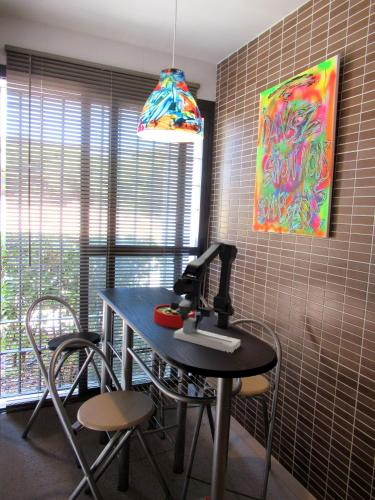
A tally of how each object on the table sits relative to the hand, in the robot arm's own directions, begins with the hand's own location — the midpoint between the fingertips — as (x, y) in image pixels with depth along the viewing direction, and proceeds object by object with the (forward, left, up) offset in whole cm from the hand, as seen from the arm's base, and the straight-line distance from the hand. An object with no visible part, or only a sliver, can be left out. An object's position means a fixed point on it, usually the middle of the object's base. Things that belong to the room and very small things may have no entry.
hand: (190, 328), depth 154 cm
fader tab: (0, 0, -1) cm, 1 cm away
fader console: (0, +8, -4) cm, 9 cm away
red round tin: (-16, -17, -4) cm, 23 cm away
